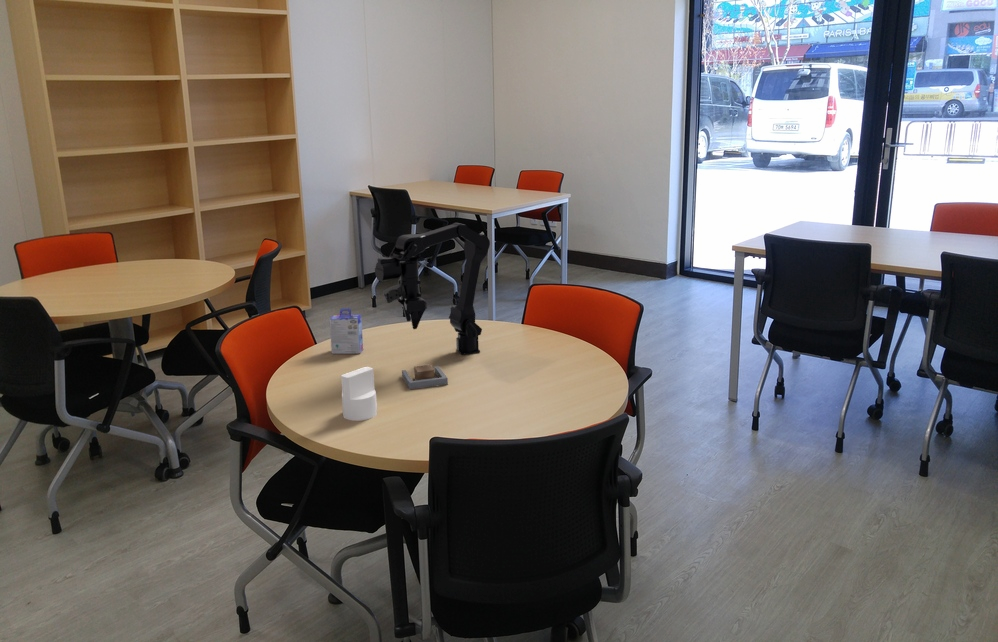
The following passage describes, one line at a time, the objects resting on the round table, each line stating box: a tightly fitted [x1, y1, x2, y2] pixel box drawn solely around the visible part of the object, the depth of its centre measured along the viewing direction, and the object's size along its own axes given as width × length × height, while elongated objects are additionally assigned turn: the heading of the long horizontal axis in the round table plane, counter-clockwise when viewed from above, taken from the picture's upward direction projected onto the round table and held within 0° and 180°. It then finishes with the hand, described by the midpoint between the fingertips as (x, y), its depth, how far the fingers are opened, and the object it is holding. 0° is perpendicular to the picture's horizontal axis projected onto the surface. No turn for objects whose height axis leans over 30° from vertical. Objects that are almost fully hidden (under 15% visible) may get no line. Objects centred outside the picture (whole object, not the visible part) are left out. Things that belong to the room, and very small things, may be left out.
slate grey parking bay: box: [401, 365, 449, 390], centre depth 226 cm, size 11×11×2 cm
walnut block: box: [413, 364, 436, 381], centre depth 226 cm, size 5×5×4 cm
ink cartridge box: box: [328, 308, 364, 355], centre depth 252 cm, size 10×6×14 cm, turn 89°
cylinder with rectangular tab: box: [340, 366, 378, 422], centre depth 202 cm, size 9×9×12 cm
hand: (411, 325), depth 237 cm, fingers open, 9 cm apart
